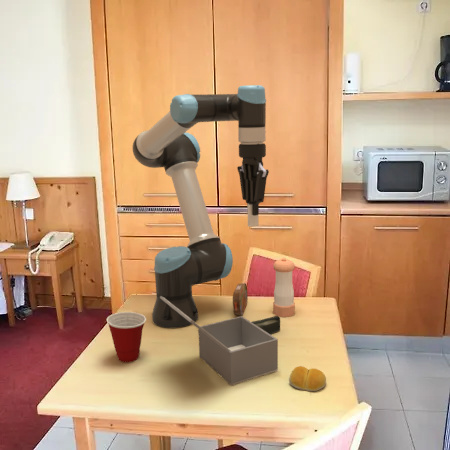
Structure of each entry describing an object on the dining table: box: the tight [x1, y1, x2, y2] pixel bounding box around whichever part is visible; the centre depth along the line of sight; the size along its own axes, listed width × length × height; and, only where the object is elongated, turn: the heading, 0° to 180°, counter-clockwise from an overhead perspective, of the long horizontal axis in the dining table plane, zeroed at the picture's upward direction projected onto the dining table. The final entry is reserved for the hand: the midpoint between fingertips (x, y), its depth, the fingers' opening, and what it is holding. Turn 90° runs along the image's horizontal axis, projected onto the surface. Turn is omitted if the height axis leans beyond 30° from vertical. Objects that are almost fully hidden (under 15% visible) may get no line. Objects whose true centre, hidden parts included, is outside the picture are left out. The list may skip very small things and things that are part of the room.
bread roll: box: [288, 365, 327, 392], centre depth 129 cm, size 8×9×4 cm
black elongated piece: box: [251, 315, 281, 335], centre depth 156 cm, size 5×3×15 cm
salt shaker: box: [272, 257, 296, 318], centre depth 171 cm, size 7×7×19 cm
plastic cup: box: [106, 311, 147, 363], centre depth 143 cm, size 11×11×12 cm
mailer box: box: [197, 315, 279, 387], centre depth 139 cm, size 18×14×9 cm
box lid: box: [159, 296, 230, 353], centre depth 130 cm, size 19×14×1 cm
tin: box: [232, 282, 249, 316], centre depth 175 cm, size 15×3×8 cm, turn 168°
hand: (253, 225), depth 148 cm, fingers closed
